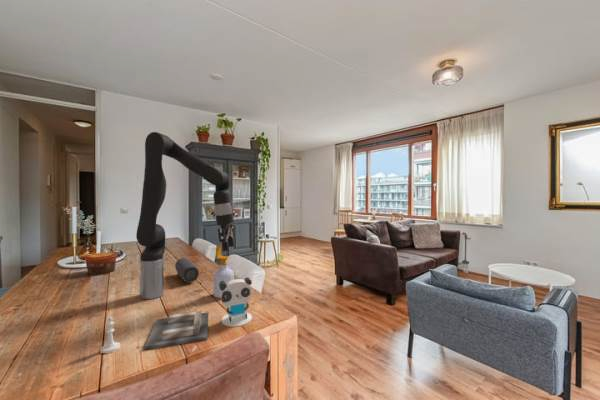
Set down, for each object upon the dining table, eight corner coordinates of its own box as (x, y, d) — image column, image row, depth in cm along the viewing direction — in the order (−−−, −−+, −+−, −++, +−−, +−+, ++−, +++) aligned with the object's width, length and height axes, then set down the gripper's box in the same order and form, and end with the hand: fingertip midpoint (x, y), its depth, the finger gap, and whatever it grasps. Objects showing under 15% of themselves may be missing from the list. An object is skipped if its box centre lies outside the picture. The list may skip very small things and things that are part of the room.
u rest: (144, 350, 78) (144, 340, 78) (157, 322, 96) (156, 314, 95) (207, 339, 84) (207, 330, 84) (208, 314, 101) (208, 307, 101)
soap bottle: (228, 299, 116) (228, 245, 116) (210, 297, 118) (209, 244, 117) (237, 291, 125) (236, 241, 124) (219, 290, 127) (219, 240, 126)
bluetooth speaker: (200, 282, 138) (200, 264, 137) (181, 286, 132) (181, 267, 132) (191, 272, 156) (191, 255, 156) (174, 274, 151) (174, 257, 151)
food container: (104, 276, 148) (104, 258, 148) (77, 276, 148) (76, 257, 148) (123, 268, 164) (123, 251, 164) (99, 268, 164) (98, 251, 164)
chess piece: (107, 344, 81) (106, 313, 81) (123, 343, 82) (123, 312, 82) (96, 354, 76) (95, 321, 76) (113, 353, 77) (113, 320, 77)
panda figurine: (221, 329, 90) (221, 287, 90) (218, 315, 101) (217, 277, 100) (255, 322, 95) (255, 282, 95) (248, 310, 105) (248, 273, 105)
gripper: (221, 213, 125) (225, 246, 125) (209, 216, 111) (215, 253, 111) (236, 211, 125) (240, 244, 125) (226, 213, 110) (232, 251, 111)
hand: (228, 248), depth 118 cm, fingers open, 8 cm apart
